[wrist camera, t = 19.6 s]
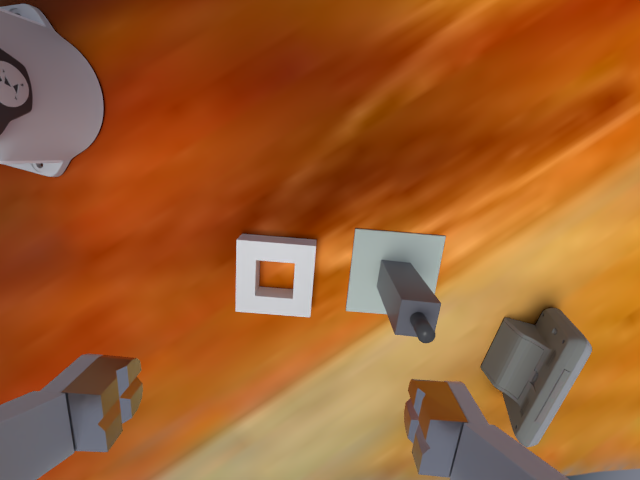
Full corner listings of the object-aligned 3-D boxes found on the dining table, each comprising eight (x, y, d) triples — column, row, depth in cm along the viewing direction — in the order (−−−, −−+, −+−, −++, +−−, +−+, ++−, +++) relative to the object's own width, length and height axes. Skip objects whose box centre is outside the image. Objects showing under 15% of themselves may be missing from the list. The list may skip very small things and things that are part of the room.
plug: (376, 286, 45) (401, 351, 31) (381, 259, 44) (409, 314, 30) (405, 289, 46) (443, 356, 31) (410, 262, 44) (452, 318, 30)
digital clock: (507, 399, 51) (554, 463, 41) (458, 376, 50) (493, 436, 40) (575, 316, 47) (645, 363, 37) (523, 289, 46) (581, 331, 36)
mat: (345, 309, 47) (346, 310, 46) (355, 228, 44) (355, 229, 43) (428, 316, 47) (429, 317, 47) (444, 235, 44) (445, 236, 43)
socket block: (240, 301, 47) (235, 311, 44) (242, 233, 44) (236, 239, 41) (310, 306, 47) (310, 317, 44) (316, 239, 44) (316, 246, 41)
